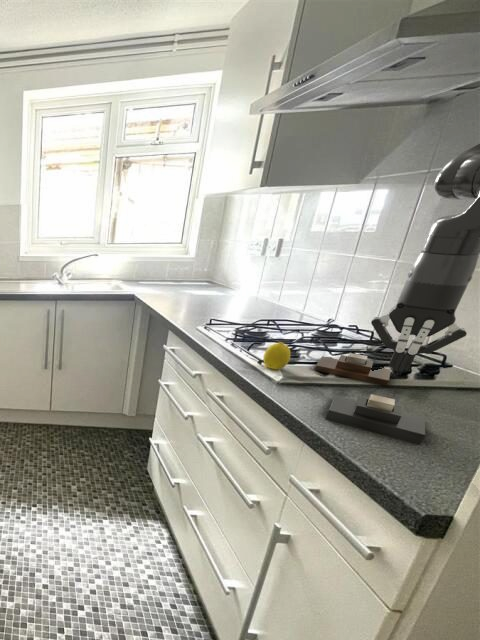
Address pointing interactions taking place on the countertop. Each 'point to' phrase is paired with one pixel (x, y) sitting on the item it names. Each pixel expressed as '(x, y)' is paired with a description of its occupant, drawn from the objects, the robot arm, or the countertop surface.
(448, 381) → the countertop surface
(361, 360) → the beige square block
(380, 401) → the ivory key
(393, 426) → the dark grey stepped block
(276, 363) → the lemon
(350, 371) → the brown stepped block
